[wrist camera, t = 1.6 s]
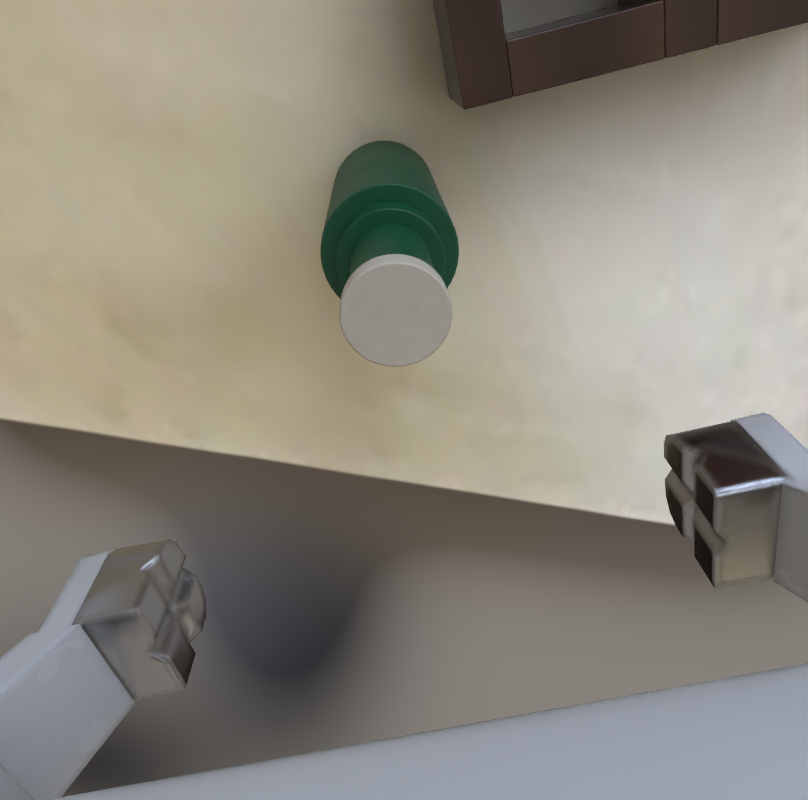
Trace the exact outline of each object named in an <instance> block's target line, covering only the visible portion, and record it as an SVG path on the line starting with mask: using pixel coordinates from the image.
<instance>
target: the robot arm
mask: <svg viewBox="0 0 808 800" xmlns="http://www.w3.org/2000/svg"><path fill="white" fill-rule="evenodd" d="M664 457H665V459H666V460H667V462H668V463H669V465H670V466H671V468H672V470H671V471H670V473H669V474H668V476H667V477H666V478H665V487H666V497H667V502H668V506H669V510H670V513H671V515H672V518H673V520H674V522H675V525H676V526H677V528H678V530H679V531H680V533H681V535H682V536H683V537H686V538H688V539H690V540H691V541H694V544H695V558H696V559H697V560H698V562H699V564H700V566H701V567H702V569H703V570H704V572H705V574H706V575H707V577H708V578H709V580H710V582H711V583H712V585H713V586H714V588H719V587H725V586H732V585H737V584H744V583H750V582H756V581H762V580H768V579H774V582H776V583H777V584H779V585H780V586H782V587H784V588H785V589H787V590H789V591H790V592H792V593H794V594H795V595H797V596H798V597H800V598H802V599H803V600H805V601H807V602H808V450H807V449H806V448H805V447H804V446H803V445H802V444H801V443H800V442H799V441H798V440H797V439H796V438H794V437H793V436H792V435H791V434H790V433H789V432H788V431H787V430H786V429H785V428H784V427H783V426H782V425H781V424H780V423H779V422H777V421H776V420H775V419H774V418H773V417H772V416H771V415H769V414H766V413H760V414H756V415H752V416H747V417H743V418H739V419H735V420H731V421H730V422H726V423H722V424H717V425H712V426H708V427H703V428H698V429H694V430H689V431H684V432H680V433H675V434H670V435H666V438H665V442H664ZM185 558H186V555H185V553H184V552H183V550H182V549H181V547H180V545H179V544H178V542H177V541H174V540H171V539H168V540H163V541H157V542H152V543H147V544H141V545H136V546H131V547H125V548H120V549H115V550H111V551H105V552H100V553H95V554H90V555H87V556H85V557H84V558H82V559H80V560H79V562H78V563H77V565H76V567H75V569H74V571H73V572H72V574H71V576H70V578H69V579H68V581H67V583H66V585H65V586H64V588H63V590H62V592H61V593H60V595H59V597H58V599H57V601H56V602H55V604H54V606H53V608H52V609H51V611H50V613H49V615H48V616H47V618H46V620H45V622H44V624H43V625H42V627H41V629H40V631H39V632H37V633H32V634H29V635H28V636H26V637H25V638H24V639H23V640H22V641H20V642H19V643H18V644H17V645H16V646H14V647H13V648H12V649H11V650H9V651H8V652H7V653H6V654H5V655H3V656H2V657H1V658H0V800H808V663H807V664H801V665H796V666H790V667H784V668H779V669H774V670H768V671H763V672H757V673H751V674H746V675H740V676H735V677H729V678H723V679H718V680H712V681H707V682H701V683H696V684H691V685H684V686H679V687H673V688H668V689H662V690H656V691H651V692H646V693H640V694H634V695H629V696H623V697H617V698H612V699H606V700H601V701H595V702H589V703H584V704H579V705H573V706H567V707H562V708H556V709H550V710H545V711H539V712H533V713H528V714H523V715H517V716H512V717H505V718H500V719H494V720H489V721H484V722H478V723H473V724H467V725H461V726H455V727H450V728H445V729H439V730H433V731H428V732H422V733H417V734H411V735H405V736H400V737H394V738H389V739H383V740H378V741H372V742H366V743H361V744H356V745H350V746H345V747H339V748H333V749H328V750H323V751H316V752H311V753H306V754H300V755H294V756H289V757H283V758H278V759H272V760H266V761H261V762H255V763H250V764H244V765H239V766H233V767H227V768H222V769H216V770H211V771H205V772H200V773H194V774H189V775H183V776H177V777H172V778H166V779H161V780H155V781H149V782H144V783H139V784H133V785H127V786H122V787H116V788H110V789H105V790H99V791H94V792H89V793H83V794H78V795H72V796H66V797H62V795H63V794H64V793H65V791H66V790H67V789H68V788H69V786H70V785H71V784H72V783H73V781H74V780H75V779H76V777H77V776H78V775H79V774H80V772H81V771H82V770H83V769H84V767H85V766H86V765H87V763H88V762H89V761H90V760H91V758H92V757H93V756H94V755H95V753H96V752H97V751H98V749H99V748H100V747H101V746H102V744H103V743H104V742H105V741H106V739H107V738H108V737H109V735H110V734H111V733H112V732H113V730H114V729H115V728H116V727H117V725H118V724H119V723H120V722H121V720H122V719H123V718H124V716H125V715H126V714H127V712H128V711H129V710H130V709H131V708H132V706H133V705H134V704H135V702H134V700H138V699H142V698H147V697H152V696H156V695H161V694H165V693H170V692H174V691H179V690H183V689H185V687H186V684H187V681H188V677H189V674H190V670H191V667H192V664H193V660H194V657H195V652H194V650H193V649H192V647H191V645H190V643H191V642H192V641H193V640H194V639H195V638H196V637H197V636H198V634H199V633H200V632H201V631H202V629H203V625H204V621H205V617H206V599H205V595H204V591H203V588H202V585H201V583H200V581H199V579H198V577H197V575H195V574H193V573H192V572H190V571H188V570H187V569H185V568H183V564H184V561H185Z"/></svg>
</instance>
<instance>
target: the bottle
mask: <svg viewBox="0 0 808 800" xmlns="http://www.w3.org/2000/svg"><path fill="white" fill-rule="evenodd" d="M458 257H459V246H458V238H457V234H456V230H455V228H454V225H453V223H452V220H451V218H450V216H449V214H448V211H447V209H446V207H445V205H444V202H443V200H442V198H441V195H440V193H439V191H438V189H437V186H436V184H435V182H434V180H433V177H432V175H431V173H430V170H429V169H428V167H427V165H426V163H425V162H424V161H423V159H422V158H421V157H420V156H419V155H418V154H417V153H416V152H414V151H413V150H412V149H410V148H408V147H407V146H405V145H402V144H400V143H396V142H392V141H376V142H371V143H368V144H365V145H363V146H361V147H359V148H358V149H356V150H355V151H353V152H352V153H351V154H350V155H349V156H348V157H347V158H346V159H345V160H344V162H343V163H342V165H341V166H340V168H339V170H338V173H337V175H336V179H335V183H334V187H333V191H332V196H331V200H330V205H329V209H328V213H327V218H326V222H325V227H324V231H323V235H322V241H321V262H322V267H323V271H324V273H325V276H326V279H327V281H328V283H329V284H330V286H331V288H332V289H333V291H334V292H335V293H336V294H337V296H338V297H339V298H340V299H341V301H340V313H339V317H340V325H341V329H342V332H343V334H344V336H345V338H346V340H347V342H348V343H349V344H350V346H351V347H352V348H353V349H354V350H355V351H356V352H357V353H358V354H359V355H361V356H362V357H364V358H365V359H367V360H369V361H371V362H373V363H376V364H379V365H384V366H392V367H398V366H406V365H411V364H414V363H417V362H419V361H421V360H423V359H425V358H427V357H428V356H430V355H431V354H432V353H433V352H435V351H436V350H437V349H438V348H439V346H440V345H441V344H442V343H443V341H444V339H445V338H446V336H447V334H448V332H449V329H450V325H451V320H452V306H451V301H450V298H449V294H448V291H447V288H448V286H449V285H450V283H451V281H452V279H453V277H454V274H455V271H456V268H457V263H458Z"/></svg>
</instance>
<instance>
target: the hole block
mask: <svg viewBox="0 0 808 800" xmlns="http://www.w3.org/2000/svg"><path fill="white" fill-rule="evenodd" d="M433 5H434V10H435V16H436V22H437V28H438V33H439V39H440V45H441V50H442V56H443V62H444V68H445V73H446V79H447V85H448V90H449V96H450V98H451V99H452V100H453V101H454V102H456V103H457V104H458V105H459V106H460V107H462V108H463V109H469V108H473V107H477V106H481V105H484V104H488V103H492V102H496V101H500V100H504V99H508V98H511V97H512V96H513V97H516V96H520V95H524V94H528V93H532V92H536V91H540V90H544V89H547V88H551V87H555V86H559V85H563V84H567V83H571V82H575V81H579V80H583V79H587V78H591V77H595V76H599V75H603V74H606V73H610V72H614V71H618V70H622V69H626V68H630V67H634V66H638V65H642V64H646V63H650V62H654V61H658V60H662V59H664V58H669V57H673V56H677V55H681V54H685V53H689V52H693V51H697V50H701V49H705V48H709V47H713V46H715V45H721V44H724V43H728V42H732V41H736V40H740V39H744V38H748V37H752V36H756V35H760V34H764V33H768V32H772V31H776V30H780V29H783V28H787V27H791V26H795V25H799V24H803V23H807V22H808V0H619V5H616V6H612V7H608V8H604V9H600V10H597V11H593V12H589V13H585V14H581V15H578V16H574V17H570V18H566V19H562V20H558V21H555V22H551V23H547V24H543V25H539V26H535V27H532V28H528V29H524V30H520V31H516V32H512V33H509V34H505V33H504V25H503V17H502V9H501V2H500V0H433Z"/></svg>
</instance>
